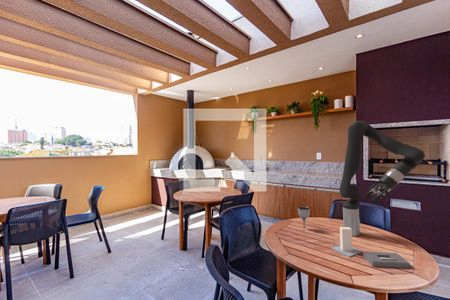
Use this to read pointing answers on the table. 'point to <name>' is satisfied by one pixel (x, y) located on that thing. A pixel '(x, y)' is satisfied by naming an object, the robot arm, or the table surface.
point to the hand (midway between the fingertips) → (369, 199)
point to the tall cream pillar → (346, 238)
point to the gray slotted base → (386, 260)
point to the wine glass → (303, 213)
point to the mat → (347, 253)
